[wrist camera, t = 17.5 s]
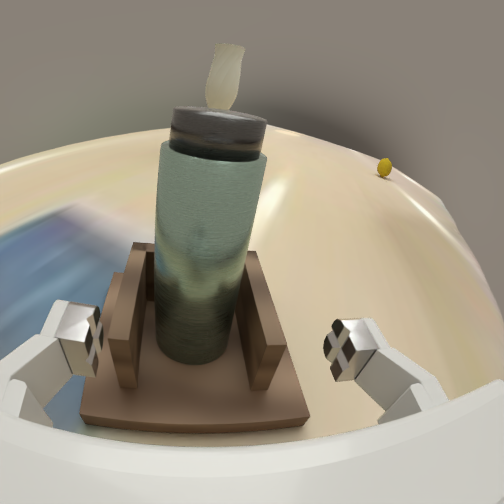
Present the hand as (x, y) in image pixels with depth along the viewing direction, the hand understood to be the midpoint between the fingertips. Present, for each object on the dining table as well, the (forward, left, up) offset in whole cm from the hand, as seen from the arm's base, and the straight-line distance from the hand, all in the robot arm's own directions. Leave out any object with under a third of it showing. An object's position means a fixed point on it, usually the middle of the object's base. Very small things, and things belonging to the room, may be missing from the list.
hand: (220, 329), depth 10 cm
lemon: (+103, +40, -12) cm, 111 cm away
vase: (+38, +58, -12) cm, 70 cm away
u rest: (+4, +8, -12) cm, 15 cm away
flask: (+4, +8, -10) cm, 13 cm away
